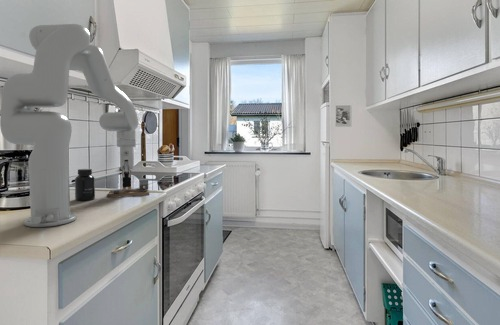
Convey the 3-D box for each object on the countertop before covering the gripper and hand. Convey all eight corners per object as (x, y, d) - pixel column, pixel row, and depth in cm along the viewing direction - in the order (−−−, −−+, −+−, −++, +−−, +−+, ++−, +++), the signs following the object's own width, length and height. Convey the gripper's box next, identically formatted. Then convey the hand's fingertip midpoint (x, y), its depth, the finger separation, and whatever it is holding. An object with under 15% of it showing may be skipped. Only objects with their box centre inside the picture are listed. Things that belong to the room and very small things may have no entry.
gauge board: (149, 194, 129) (149, 180, 128) (108, 197, 123) (107, 182, 122) (148, 191, 137) (147, 178, 136) (109, 193, 131) (109, 179, 130)
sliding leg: (131, 190, 126) (131, 171, 125) (122, 191, 124) (121, 172, 124) (131, 188, 131) (131, 170, 131) (122, 188, 130) (122, 170, 129)
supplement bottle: (89, 201, 114) (88, 170, 113) (71, 201, 114) (70, 170, 113) (98, 198, 121) (97, 168, 120) (81, 197, 121) (81, 168, 120)
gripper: (135, 144, 121) (136, 188, 122) (135, 143, 137) (135, 182, 138) (115, 143, 118) (116, 189, 120) (117, 143, 134) (118, 183, 135)
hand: (126, 185), depth 129 cm, fingers closed on sliding leg, 4 cm apart
